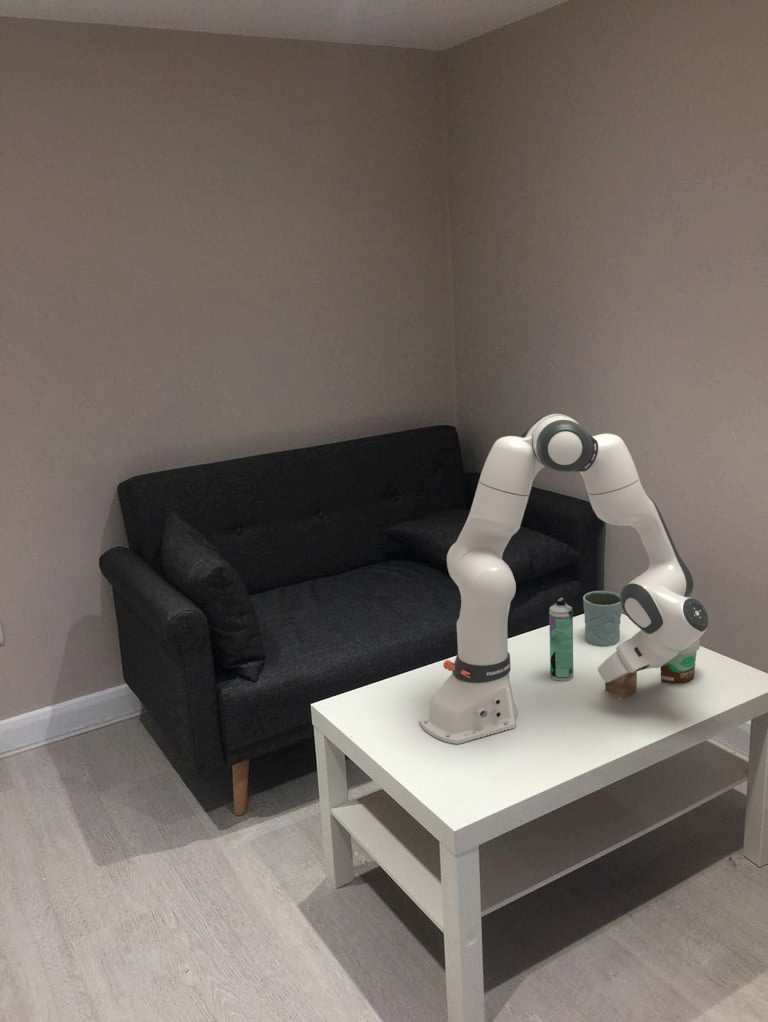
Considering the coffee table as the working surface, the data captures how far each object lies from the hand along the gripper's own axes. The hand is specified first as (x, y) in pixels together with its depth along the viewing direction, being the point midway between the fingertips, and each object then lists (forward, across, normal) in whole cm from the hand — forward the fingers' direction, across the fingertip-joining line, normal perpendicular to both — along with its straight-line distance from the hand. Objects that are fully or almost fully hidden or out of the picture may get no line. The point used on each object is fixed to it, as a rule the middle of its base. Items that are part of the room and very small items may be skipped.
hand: (618, 673), depth 212 cm
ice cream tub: (-1, -16, +7) cm, 18 cm away
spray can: (+14, +4, -7) cm, 16 cm away
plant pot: (+19, -19, -12) cm, 30 cm away
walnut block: (+3, 0, +4) cm, 5 cm away
